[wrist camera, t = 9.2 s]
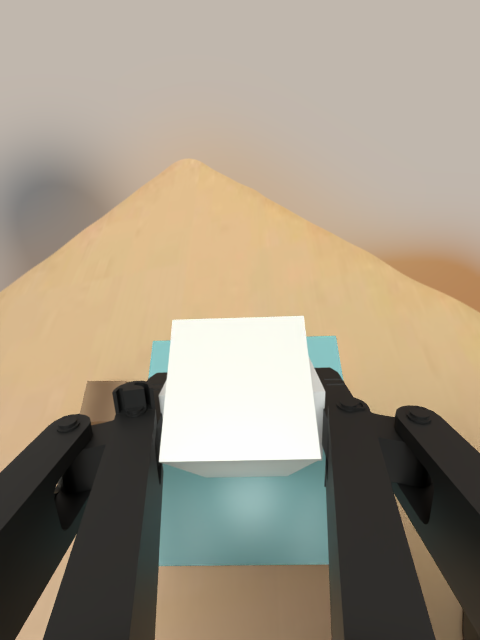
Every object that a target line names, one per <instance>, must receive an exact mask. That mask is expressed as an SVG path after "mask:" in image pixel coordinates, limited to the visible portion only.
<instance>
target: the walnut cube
mask: <svg viewBox="0 0 480 640" xmlns="http://www.w3.org/2000/svg"><path fill="white" fill-rule="evenodd" d="M125 383H128V382H126V381H87V385H86V390H85V394H84V398H83V403H82V407H81V411H80V414H82V415H87V416H88V417H90V421H91V425H95V424H100V423H104V422H108V421H112V420H114V418H115V415H116V413H115V407H114V401H113V395H112V392H113V391H114V389H115V388H117V387H118V386H120V385H122V384H125Z"/></svg>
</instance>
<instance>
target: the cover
mask: <svg viewBox="0 0 480 640" xmlns="http://www.w3.org/2000/svg"><path fill="white" fill-rule="evenodd" d="M309 358H310V360H311V362H312V364H313V366H314V368H324V367H330V368H332V369H333V370H335V371H337V372H338V373H339V375H340V376H341V378H342V380H343V376H342V370H341V364H340V358H339V352H338V346H337V340H336V336H314V337H306V331H305V323H304V316H287V317H253V318H220V319H187V320H173V321H172V331H171V341H153V346H152V354H151V362H150V370H149V378H150V377H151V376H153V375H154V374H156V373H163V372H168V373H167V383H166V393H165V404H164V414H163V424H162V434H161V445H160V455H159V462H161V463H163V471H164V472H163V491H162V510H161V528H160V547H159V566H214V565H320V564H329V555H328V529H327V504H326V487H324V482H325V461H326V455H325V452H324V449H323V456H322V461H318V460H320V459H321V454H320V446H319V438H318V430H317V421H316V413H315V405H314V397H313V389H312V381H311V372H310V364H309ZM149 378H148V379H149Z"/></svg>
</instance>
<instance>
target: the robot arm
mask: <svg viewBox="0 0 480 640" xmlns="http://www.w3.org/2000/svg"><path fill="white" fill-rule="evenodd" d="M309 364H310V372H311V381H312V389H313V397H314V405H315V413H316V421H317V430H318V438H319V446H320V454H321V459H320V460H318V461H322V456H323V449H324V452H325V455H326V461H325V482H324V487H326V504H327V529H328V555H329V581H330V607H331V632H332V640H436V639H435V636H434V632H433V629H432V625H431V622H430V618H429V615H428V611H427V608H426V604H425V601H424V597H423V594H422V590H421V587H420V583H419V580H418V577H417V573H416V570H415V566H414V563H413V559H412V556H411V552H410V549H409V545H408V542H407V538H406V535H405V531H404V528H403V524H402V521H401V517H400V514H399V510H398V507H397V503H396V500H395V496H396V497H397V499H398V501H399V502H400V504H401V506H402V507H403V509H404V511H405V512H406V514H407V516H408V517H409V519H410V521H411V522H412V524H413V526H414V527H415V529H416V531H417V532H418V534H419V536H420V538H421V539H422V541H423V543H424V544H425V546H426V548H427V549H428V551H429V553H430V554H431V556H432V558H433V559H434V561H435V563H436V564H437V566H438V568H439V569H440V571H441V573H442V574H443V576H444V578H445V580H446V581H447V583H448V585H449V586H450V588H451V590H452V591H453V593H454V595H455V596H456V598H457V600H458V601H459V603H460V605H461V606H462V608H463V610H464V616H463V636H464V640H480V453H479V452H478V451H477V450H476V449H475V448H473V447H472V446H471V445H470V444H469V443H468V442H467V441H466V440H465V439H464V438H463V437H462V436H461V435H460V434H458V433H457V432H456V431H455V430H454V429H453V428H452V427H451V426H450V425H449V424H448V423H447V422H446V421H445V420H444V419H442V418H441V417H440V416H439V415H438V414H436V413H435V412H433V411H431V410H428V409H426V408H424V407H420V406H403V407H400V408H398V409H397V411H396V415H395V417H390V416H384V415H379V414H374V413H371V412H370V409H369V407H368V405H367V404H366V403H364V402H363V401H362V400H359V399H356V398H354V397H353V396H352V394H351V393H350V391H349V389H348V388H347V386H346V385H345V383H344V381H343V380H342V378H341V376H340V375H339V373H338V372H337V371H335V370H333V369H332V368H330V367H324V368H314V366H313V364H312V362H311V360H310V358H309ZM167 373H168V372H163V373H156V374H154V375H153V376H151V377H150V378H149V379H148V381H147V382H146V381H133V382H128V383H125V384H122V385H120V386H118V387H117V388H115V389H114V391H113V392H112V395H113V401H114V407H115V413H116V415H115V418H114V420H112V421H108V422H104V423H100V424H95V425H91V421H90V417H88V416H87V415H82V414H75V415H68V416H64V417H62V418H60V419H58V420H56V421H54V422H53V423H52V424H50V425H49V426H48V427H47V428H46V429H45V430H44V431H43V432H42V433H41V434H40V435H39V436H38V437H37V438H36V439H35V440H33V441H32V442H31V443H30V444H29V445H28V446H27V447H26V448H25V449H24V450H23V451H22V452H21V453H20V454H19V455H18V456H17V457H16V458H15V459H14V460H13V461H12V462H11V463H10V464H9V465H8V466H7V467H6V468H5V469H4V470H3V471H2V472H1V473H0V640H15V639H16V637H17V635H18V634H19V632H20V630H21V628H22V627H23V625H24V623H25V622H26V620H27V618H28V616H29V615H30V613H31V611H32V610H33V608H34V606H35V604H36V603H37V601H38V599H39V598H40V596H41V594H42V592H43V591H44V589H45V587H46V586H47V584H48V582H49V580H50V579H51V577H52V575H53V574H54V572H55V570H56V568H57V567H58V565H59V563H60V562H61V560H62V558H63V556H64V555H65V553H66V551H67V550H68V548H69V546H70V544H71V543H72V541H73V539H74V538H75V536H76V539H75V542H74V545H73V548H72V551H71V554H70V557H69V560H68V563H67V566H66V569H65V573H64V576H63V579H62V582H61V585H60V588H59V591H58V594H57V597H56V600H55V604H54V607H53V610H52V613H51V616H50V619H49V622H48V625H47V628H46V631H45V634H44V638H43V640H155V622H156V603H157V585H158V566H159V547H160V528H161V510H162V491H163V472H164V471H163V463H161V462H159V455H160V445H161V434H162V424H163V414H164V404H165V393H166V383H167ZM57 484H58V485H57ZM56 485H57V486H56ZM55 487H56V488H55ZM393 492H394V493H393ZM394 494H395V496H394ZM76 534H77V535H76Z"/></svg>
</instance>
